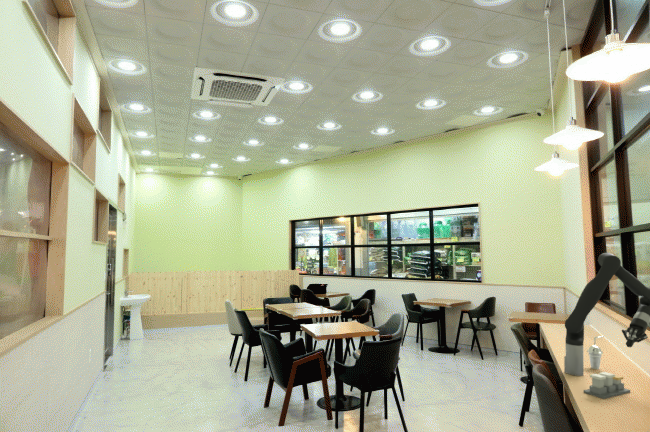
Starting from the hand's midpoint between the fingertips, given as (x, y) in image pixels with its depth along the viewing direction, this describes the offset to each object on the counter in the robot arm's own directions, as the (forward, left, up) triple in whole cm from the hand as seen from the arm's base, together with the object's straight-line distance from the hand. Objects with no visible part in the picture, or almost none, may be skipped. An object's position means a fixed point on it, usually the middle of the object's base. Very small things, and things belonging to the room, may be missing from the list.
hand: (628, 346), depth 236 cm
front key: (-8, -27, -18) cm, 34 cm away
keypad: (-6, -20, -22) cm, 30 cm away
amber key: (-4, -12, -20) cm, 24 cm away
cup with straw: (-23, +28, -22) cm, 43 cm away
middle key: (-6, -20, -18) cm, 27 cm away
